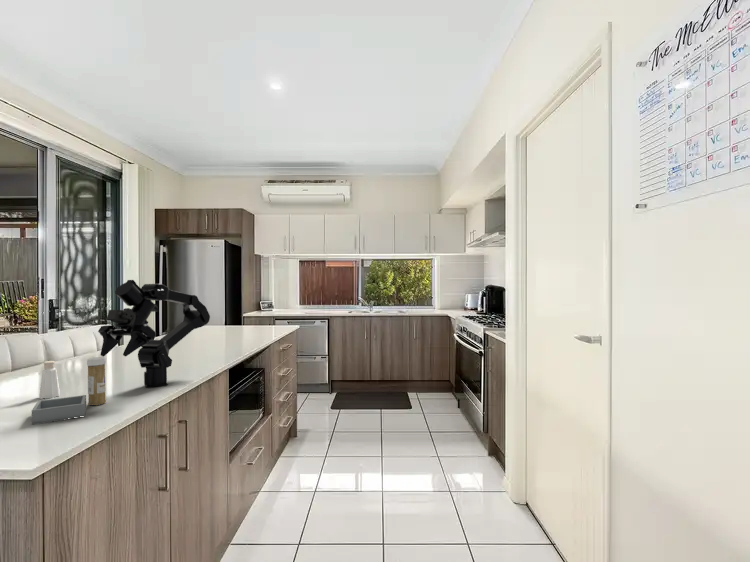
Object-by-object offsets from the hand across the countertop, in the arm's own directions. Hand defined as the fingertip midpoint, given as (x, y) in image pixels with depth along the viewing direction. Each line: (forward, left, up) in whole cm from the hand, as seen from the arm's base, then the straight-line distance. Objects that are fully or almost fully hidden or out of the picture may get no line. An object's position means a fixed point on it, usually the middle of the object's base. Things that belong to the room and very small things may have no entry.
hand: (112, 355), depth 136 cm
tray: (+12, +13, -13) cm, 22 cm away
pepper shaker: (+17, -14, -13) cm, 26 cm away
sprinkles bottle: (+4, +5, -13) cm, 15 cm away
